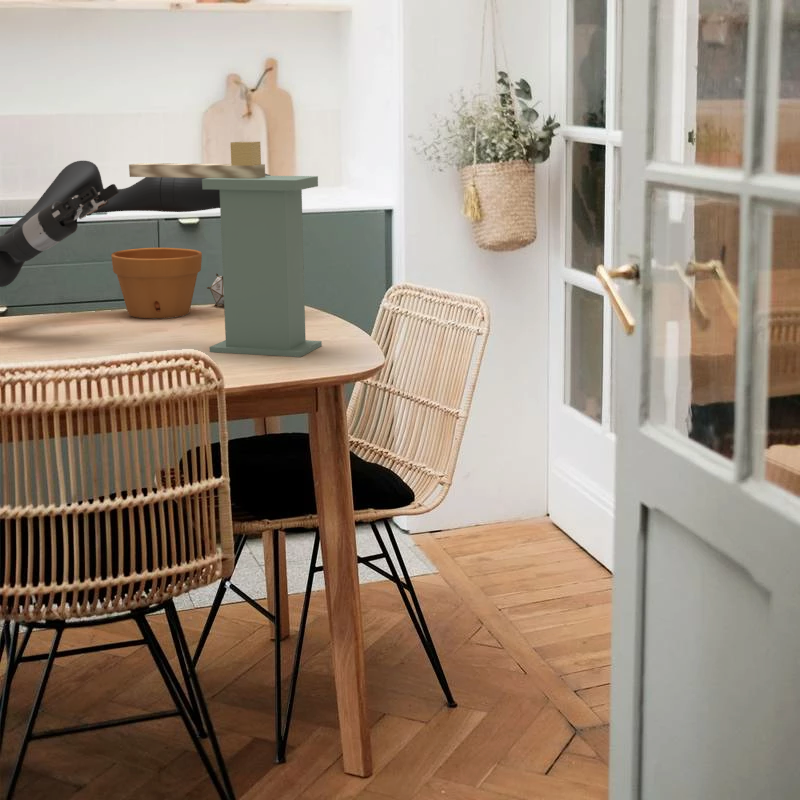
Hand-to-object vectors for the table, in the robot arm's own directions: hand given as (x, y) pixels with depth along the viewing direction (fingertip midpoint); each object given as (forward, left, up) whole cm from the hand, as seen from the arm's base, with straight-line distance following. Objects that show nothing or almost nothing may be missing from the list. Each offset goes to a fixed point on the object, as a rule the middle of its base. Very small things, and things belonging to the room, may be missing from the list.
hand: (105, 189), depth 271 cm
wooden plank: (-15, +15, +3) cm, 21 cm away
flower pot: (-19, -28, -32) cm, 47 cm away
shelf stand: (-25, +25, -32) cm, 48 cm away
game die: (-37, -31, -32) cm, 58 cm away
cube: (-23, +23, +5) cm, 32 cm away
